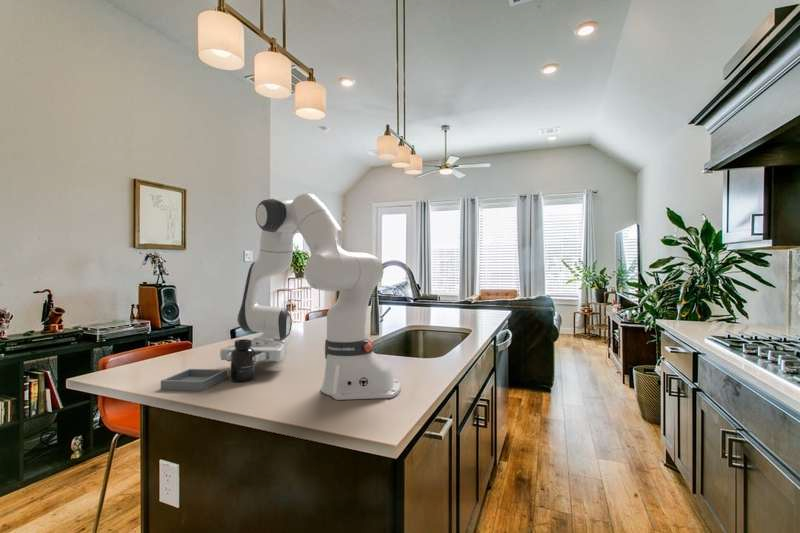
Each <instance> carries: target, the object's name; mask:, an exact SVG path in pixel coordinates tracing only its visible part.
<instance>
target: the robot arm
mask: <svg viewBox="0 0 800 533" xmlns="http://www.w3.org/2000/svg"><path fill="white" fill-rule="evenodd" d="M255 220H256V223H257V226H258V227H259V228H260V229H261V234H260V239H259V240H260V241H259V253H258V257H257V259H256V261H254V262H252V263H251V264H250V266H249V269H248V272H247V277H246V281H245V285H244V290H243V296H242V300H241V301H242V302H241V304H240V308H239V312H238V314H237V325H238V326H239V327H240V328H241V330H242V331H244V332H246V333H247V332H248V333H249V332H250V333H251V332H252V333H253V332H254V333H255V332H257V333H263V334H261V335H259V336H257V337H254V338H251V339H250V340H251V344H252V345H251V348H252V349H253V350H254V352H255V355H254V356H252V362H255V363H257V364H263V363H267V362H280V361H283V360H285V359H286V358H287V347H288V345H289V343H290V333H291V330H292V324H293V319H292V318H293V317H292V316H291V314H290V312H289V311H288V309H287V308H285V307H280V306H279V307H278V306H270V305H269V306H268V305H260V304H259V303H258V298H259V295H260V294H259V293H260V288H261V284H262V282H263V280H264V279H267V278H270V277H274V276H278V275H280V274H282V273H284V272H286V271H287V270H288V269H289V268H290V267H291V265H292V262H293V254H294V243H293V242H294V237H295V235H296V234H300V235H301V236H302V238H303V239H304V241H305V243H306V245H307V246H308V250H309V251H310V256H309V258H308V259H307V261H306V263H305V266H304V276H305V277H304V278H305V280H306V282H307V284H308V285H309V286H310V287H311V288H312V289H315V290H319V291H325V292H339V295H338V298H337V299H336V301H335V303H334V304H332V306H330V308H329V309H328V311H327V313H326V339H325V342H324V358H325V368H324V375H323V381H322V385H321V387H320V391H321V392H322V393H323V394H324V395H327V396H330V397H332V398H333V399H334V400H336V401H337V400H339V401H342V400H364V399H365V400H367V399H371V400H372V399H390V398H391V399H392V398H394V397H396V396H397V395H398V394H399V393H400V392H401V388H402V387H401V382H400V381H399V380H398V379H396V378H394V375H393V371H392V368H391V365H390V363H389V362H387V361H385V359H383V357H382V358H381V357H380V356H379V355H377V354H376V353H375V352H374V343H373V342H374V341H373V339H369V338H367V313H368V306H369V303H370V300H371V297H372V294H373V292H374V290H375V288H376V287H377V286H378V284H380V283H381V281H382V279H383V276H384V266H383V263H382V261H381V259H380V258H379V257H378V256H376V255H373V254H370V253H367V252H361V251H360V252H359V251H358V252H357V251H346V250H345V249H343V247H342V243H343V239H344V231H343V229H342V228H341V225H340V224H339V223H338V222H337V220H336V218H335V217H334V215H333V214H332V213H331V211H330V210H329V209H328V207H327V206H326V205H325V203H324V202H322V201H321V199H319V197H318V196H316V195H315V194H313V193H309V192H307V193H306V192H305V193H301V194H299V195H297V196H296V197H295V198H294V199H291V198H289V199H287V198H282V199H281V198H279V199H275V198H268V199H263V200H262V201H260V202H259V204H258V205H257V207H256V211H255ZM234 345H235V344H233V345H229V346H225V347H222V348H220V350H219V351H220V352H219V359H220V360H222V361H226V362H231V352H232V351H233V350H234V349H235V347H234ZM399 391H400V392H399Z"/></svg>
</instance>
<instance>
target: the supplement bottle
mask: <svg viewBox="0 0 800 533" xmlns="http://www.w3.org/2000/svg"><path fill="white" fill-rule="evenodd" d="M251 340H252V339H247V338H246V339H245V338H244V339H243V338H242V339H236V340H235V341H234V344H233V345H234V347H235V349H234V350H233V351H232V352H231V361H230V381H231V382H233V383H246V382H250V381H252V380H254V378H255V363H256V362H252V356H254V355H255V352H254V350H253V349H252V348H251V345H252V344H251Z"/></svg>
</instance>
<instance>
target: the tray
mask: <svg viewBox="0 0 800 533" xmlns="http://www.w3.org/2000/svg"><path fill="white" fill-rule="evenodd" d="M227 378H228V369H219V368H218V369H214V368H211V369H210V368H209V369H208V368H188V369H185V370H183V371H180V372H178V373H176V374H173V375H171V376H169V377H166V378H164V379H162V380H160V390H164V391H190V392H191V391H195V392H196V391H197V392H203V391H206V390H207V389H210V388H211V387H213V386H215V385H217V384H219V383H220V382H222V381H224V380H226V379H227Z"/></svg>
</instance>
